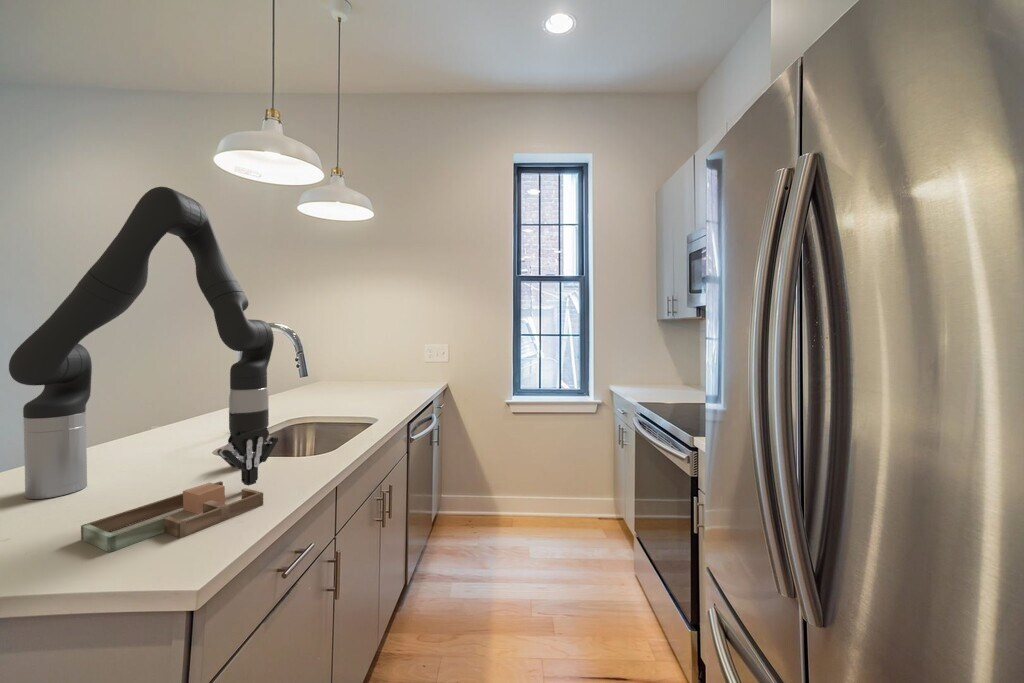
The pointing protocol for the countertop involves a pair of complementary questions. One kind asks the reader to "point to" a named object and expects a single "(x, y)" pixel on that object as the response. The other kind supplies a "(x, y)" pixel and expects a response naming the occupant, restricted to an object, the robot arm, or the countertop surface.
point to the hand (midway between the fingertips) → (249, 483)
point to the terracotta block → (202, 496)
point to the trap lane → (163, 520)
